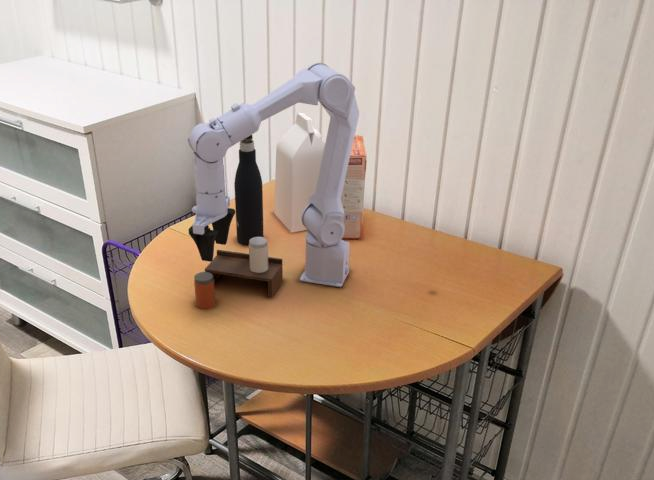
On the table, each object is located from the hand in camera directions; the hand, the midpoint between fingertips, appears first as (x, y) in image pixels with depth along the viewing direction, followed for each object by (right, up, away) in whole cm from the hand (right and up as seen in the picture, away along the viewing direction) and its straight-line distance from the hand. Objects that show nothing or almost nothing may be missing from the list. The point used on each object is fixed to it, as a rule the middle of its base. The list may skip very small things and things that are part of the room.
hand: (214, 251), depth 150 cm
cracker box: (+30, +11, +33) cm, 46 cm away
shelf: (+6, -6, +10) cm, 13 cm away
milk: (+19, +14, +37) cm, 44 cm away
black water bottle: (+6, +7, +28) cm, 29 cm away
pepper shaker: (-2, -10, +4) cm, 11 cm away
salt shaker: (+9, -3, +7) cm, 11 cm away
